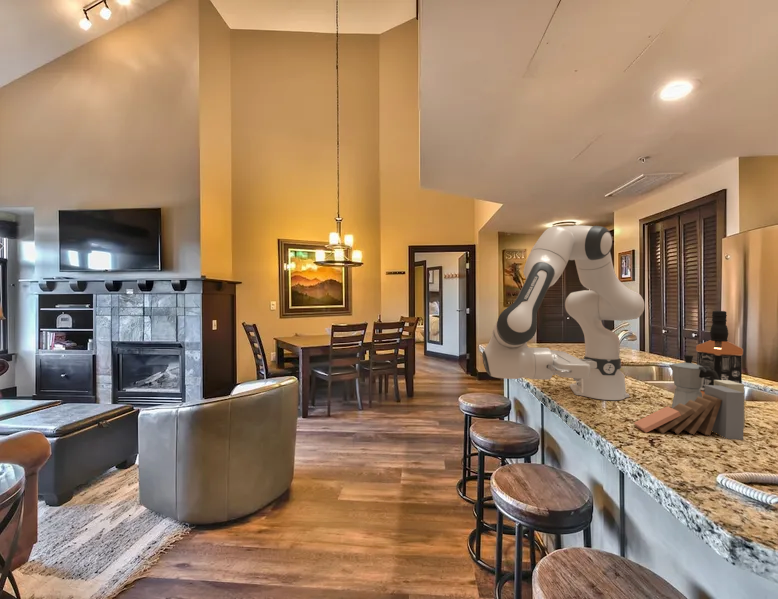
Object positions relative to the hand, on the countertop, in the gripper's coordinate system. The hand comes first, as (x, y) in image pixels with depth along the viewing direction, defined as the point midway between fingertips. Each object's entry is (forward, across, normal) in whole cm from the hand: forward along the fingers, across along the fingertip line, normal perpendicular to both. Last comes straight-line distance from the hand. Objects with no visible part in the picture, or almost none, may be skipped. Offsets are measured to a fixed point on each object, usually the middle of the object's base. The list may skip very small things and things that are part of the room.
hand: (594, 364), depth 104 cm
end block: (+32, 0, +18) cm, 37 cm away
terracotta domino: (+12, 0, +18) cm, 21 cm away
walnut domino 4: (+27, 0, +18) cm, 33 cm away
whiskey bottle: (+52, +31, +20) cm, 64 cm away
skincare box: (+40, +9, +19) cm, 45 cm away
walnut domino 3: (+23, 0, +18) cm, 29 cm away
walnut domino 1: (+16, 0, +18) cm, 24 cm away
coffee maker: (+37, +20, +19) cm, 46 cm away
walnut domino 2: (+20, 0, +18) cm, 26 cm away
